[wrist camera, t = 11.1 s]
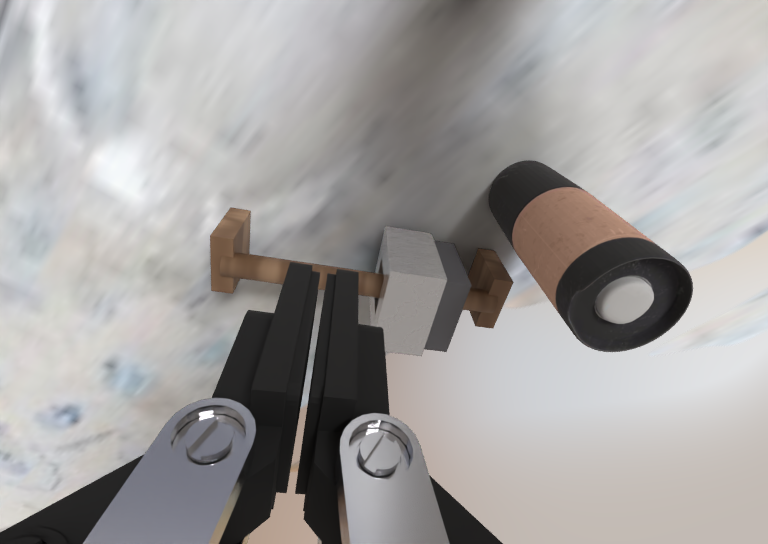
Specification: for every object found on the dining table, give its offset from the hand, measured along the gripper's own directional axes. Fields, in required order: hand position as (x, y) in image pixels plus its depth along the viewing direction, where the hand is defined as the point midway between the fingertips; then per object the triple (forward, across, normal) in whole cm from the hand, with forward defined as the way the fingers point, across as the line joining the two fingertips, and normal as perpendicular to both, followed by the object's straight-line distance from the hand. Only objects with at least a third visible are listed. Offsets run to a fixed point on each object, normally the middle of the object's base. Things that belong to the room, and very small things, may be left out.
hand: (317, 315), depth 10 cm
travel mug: (+31, -19, +5) cm, 37 cm away
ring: (+29, -12, +15) cm, 35 cm away
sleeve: (+30, -8, +15) cm, 34 cm away
